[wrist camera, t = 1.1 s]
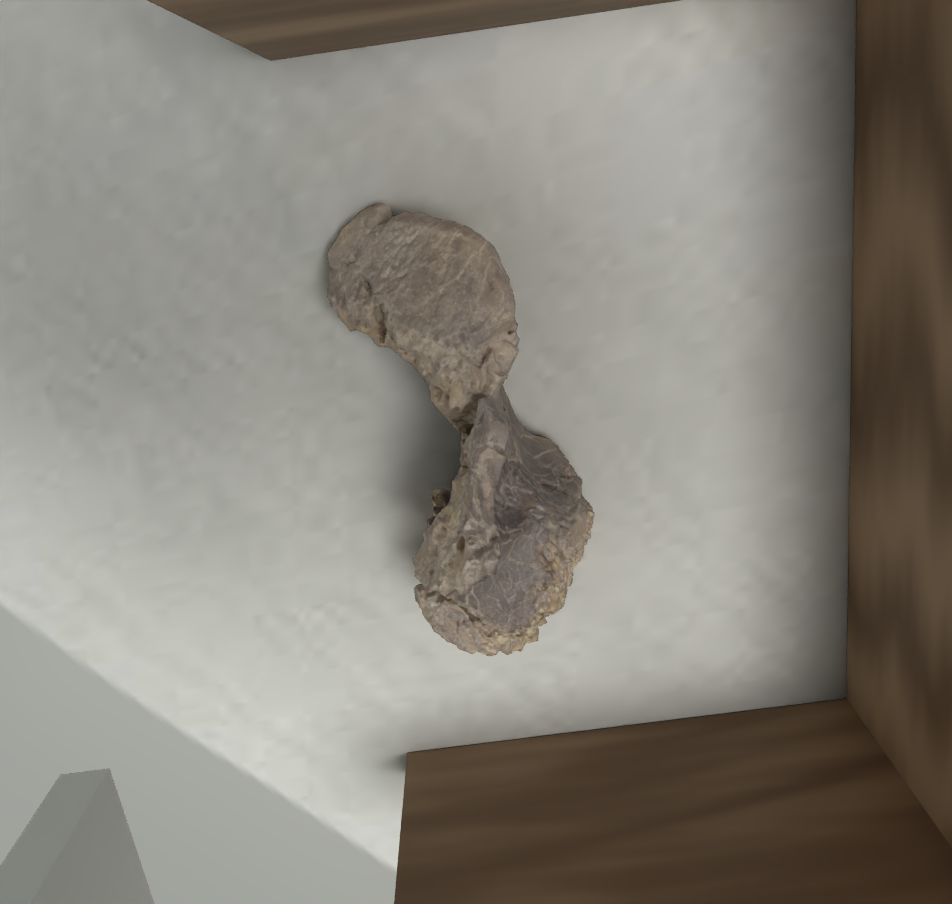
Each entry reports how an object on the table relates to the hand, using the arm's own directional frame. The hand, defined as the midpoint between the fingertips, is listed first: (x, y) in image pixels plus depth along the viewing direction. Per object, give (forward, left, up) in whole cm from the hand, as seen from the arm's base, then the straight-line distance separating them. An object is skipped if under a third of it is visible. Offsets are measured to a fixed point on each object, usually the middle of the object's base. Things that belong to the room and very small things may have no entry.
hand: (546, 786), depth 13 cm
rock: (-1, -1, -16) cm, 16 cm away
